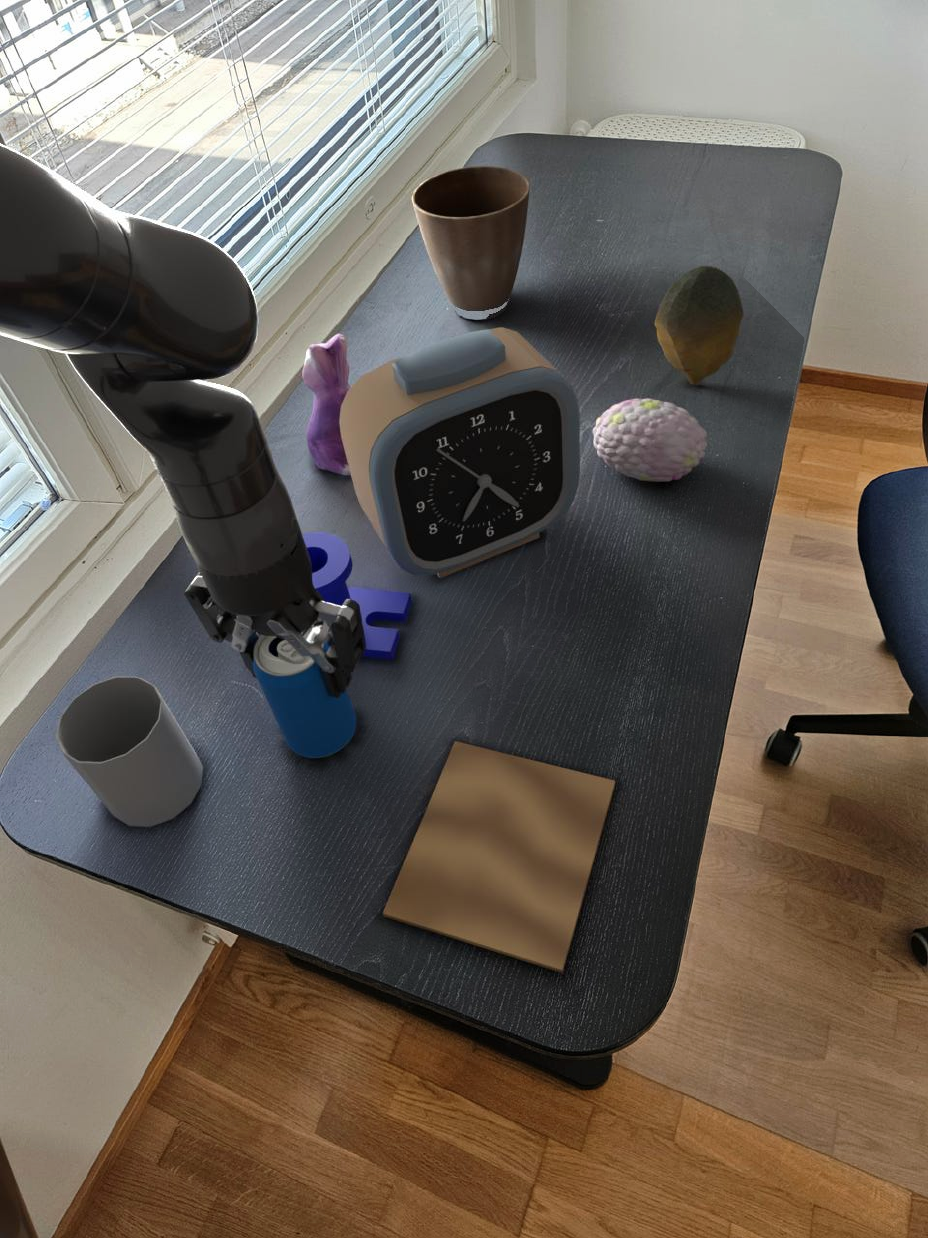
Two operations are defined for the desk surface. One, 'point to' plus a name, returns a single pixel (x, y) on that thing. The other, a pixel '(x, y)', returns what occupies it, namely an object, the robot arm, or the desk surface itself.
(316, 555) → the mount
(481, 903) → the cork mat
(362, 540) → the desk surface
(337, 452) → the figurine
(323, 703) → the beverage can
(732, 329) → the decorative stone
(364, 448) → the alarm clock
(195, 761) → the cup
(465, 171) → the flower pot
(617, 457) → the decorative item
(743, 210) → the desk surface
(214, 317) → the robot arm
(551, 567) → the desk surface
